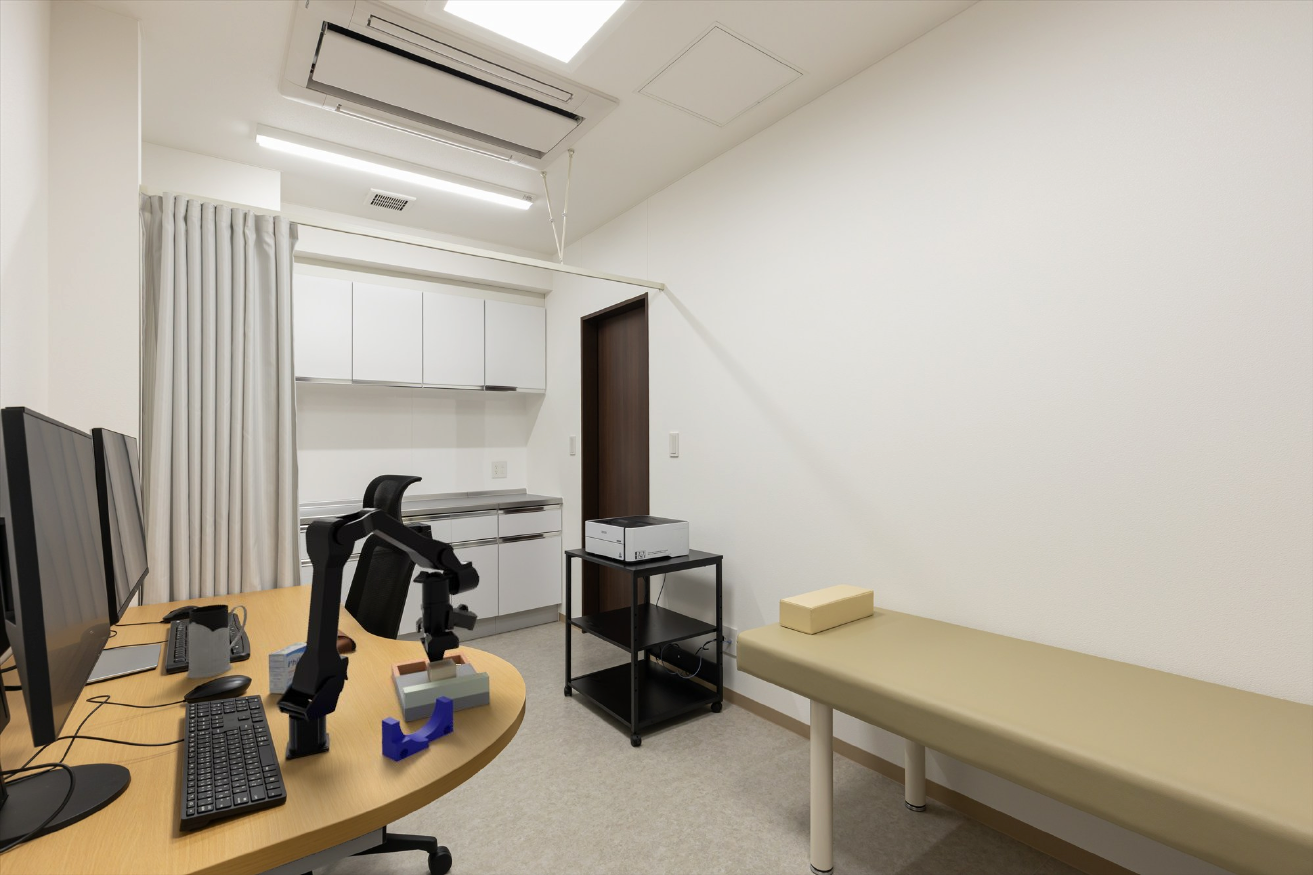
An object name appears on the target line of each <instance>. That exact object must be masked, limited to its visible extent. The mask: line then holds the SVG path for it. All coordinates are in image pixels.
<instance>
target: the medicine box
mask: <svg viewBox="0 0 1313 875" xmlns="http://www.w3.org/2000/svg"><path fill="white" fill-rule="evenodd" d="M306 644H307V643H305V642H295V643H294V644H291V645H288V646H285V647H284V648H281V649H279V650H276V651H274V652H271V653H269V654H268V684H269V685H268V692H269V694H273V695H274V694H276V695H277V694H279V695H283V694H284V693H285V691H286V690H287V689H288V687H289V686H290V684H291V683H292V680H293V676H294V672H295V668H296V664H297V663H298V661H299V659H300V658H301V656H302V655H303V653H304V651H305V649H306Z"/></svg>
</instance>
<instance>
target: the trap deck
mask: <svg viewBox="0 0 1313 875" xmlns="http://www.w3.org/2000/svg"><path fill="white" fill-rule="evenodd" d="M451 658H452V660H453V661H454V663H455V664H461V665H456V672H457V677H456V678H451V679H446V680H440V681H435V682H430V683H428V682H427V663H430V661H429V659H428V657H425V658H418V659H417V658H416V659H413V660H407V661H402V662H395V663H394V662H393V663H391V667H390V668H391V671H390V672H391V677H392V681H393V685H394V688H395V691H396V695H397V699H398V702H399V706H400V709H401V713H402V716H403V719H404V720H403V721H404V723H406V722H407V723H408V722H413V721H417V720H420V719H425V718H426V719H427V718H429V717H430V718H431V716H432V714H433V712H434V709H435V705H436V699H437V698H439V697H442V696H445V697H447V698H450V699H452V700H453V712H457V711H462V710H466V709H471V708H476V707H480V706H485V705H490V704H491V701H490V700H491V696H490V694H491V693H490V675H489V673H487V671H483V672H482V671H481V672H477V671H476V669H475V668H474V666H473V665H472V664H471V662H470V661H469V659H468V657H467V656H466V655H465V653H464V651H458V652H453V653H447V654H444V657H443V660H446V659H451Z"/></svg>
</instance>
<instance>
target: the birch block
mask: <svg viewBox="0 0 1313 875" xmlns="http://www.w3.org/2000/svg"><path fill="white" fill-rule="evenodd" d="M456 677H457V672H456V664H455V663H454V661H453V660H452V658H451V659H446V660H440V661H435V662H430V663H427V682H428V683H430V682H435V681H440V680H446V679H451V678H456Z"/></svg>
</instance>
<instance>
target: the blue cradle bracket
mask: <svg viewBox="0 0 1313 875" xmlns="http://www.w3.org/2000/svg"><path fill="white" fill-rule="evenodd" d="M452 733H454V711H453V700H452V699H450V698H447V697H445V696H442V697H439V698H437V699H436V705H435V709H434V712H433V714H432V716H430V718H429V720H428V721H427V722H425V724H424V726H422V727H421V728H420V729H418V730H417V731H415V732H412V733H409V734H405V733H404V732H403V730H402V728H401V722H400V720H398V719H396V718H394V717H391V716H389V717H386V718H383V719H381V755H383V756H385V758H387V759H390V760H391V761H393V762H395V763H398V762H400V761H402V760H405V759H407V758H409V757H412V756H413V755H415V754H418V753H420V752H421V751H424V750H426V749H428V748H429V747H430V743H432V742H434V741H435V740H438V739H440V738H442V737H445V736H447V735H449V734H452Z"/></svg>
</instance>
